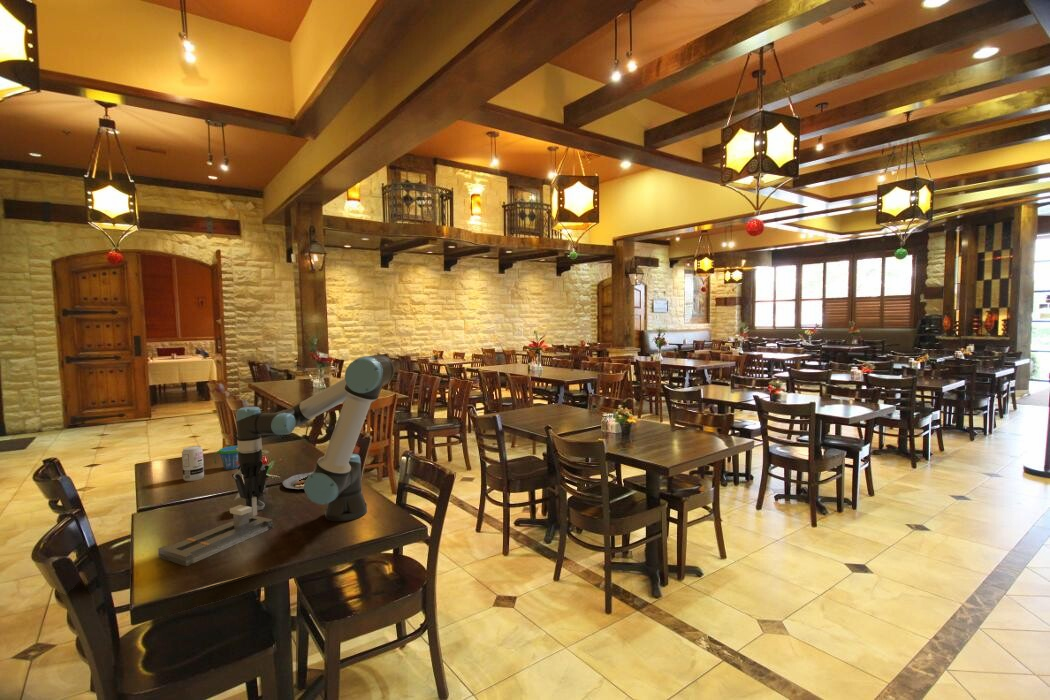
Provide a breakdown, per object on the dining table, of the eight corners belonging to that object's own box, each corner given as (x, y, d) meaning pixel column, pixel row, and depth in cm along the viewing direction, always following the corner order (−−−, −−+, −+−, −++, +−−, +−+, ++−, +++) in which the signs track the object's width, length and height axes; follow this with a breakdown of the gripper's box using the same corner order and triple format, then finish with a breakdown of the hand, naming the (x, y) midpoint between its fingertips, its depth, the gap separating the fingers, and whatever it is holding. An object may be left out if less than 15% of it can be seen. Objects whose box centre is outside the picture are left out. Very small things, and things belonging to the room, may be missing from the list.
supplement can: (186, 477, 237) (185, 446, 236) (206, 475, 240) (204, 445, 239) (180, 482, 229) (178, 450, 228) (201, 480, 232) (199, 449, 231)
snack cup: (212, 472, 244) (211, 452, 243) (216, 466, 254) (215, 447, 253) (248, 468, 250) (247, 448, 249) (251, 463, 260) (250, 444, 259)
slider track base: (247, 521, 183) (246, 513, 183) (273, 527, 177) (272, 519, 177) (158, 557, 156) (158, 548, 156) (186, 566, 150) (185, 556, 150)
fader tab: (241, 523, 177) (240, 504, 176) (252, 526, 174) (251, 507, 174) (230, 528, 173) (229, 508, 173) (242, 531, 170) (241, 511, 170)
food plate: (334, 470, 243) (333, 464, 243) (348, 483, 225) (348, 476, 224) (278, 483, 228) (277, 475, 228) (289, 497, 210) (288, 489, 209)
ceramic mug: (231, 516, 188) (231, 496, 188) (236, 508, 196) (235, 489, 196) (263, 512, 192) (262, 493, 192) (266, 505, 200) (265, 486, 199)
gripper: (259, 445, 184) (262, 507, 185) (225, 453, 172) (228, 519, 173) (273, 447, 180) (276, 510, 182) (239, 456, 169) (242, 523, 170)
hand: (252, 514), depth 178 cm, fingers closed
